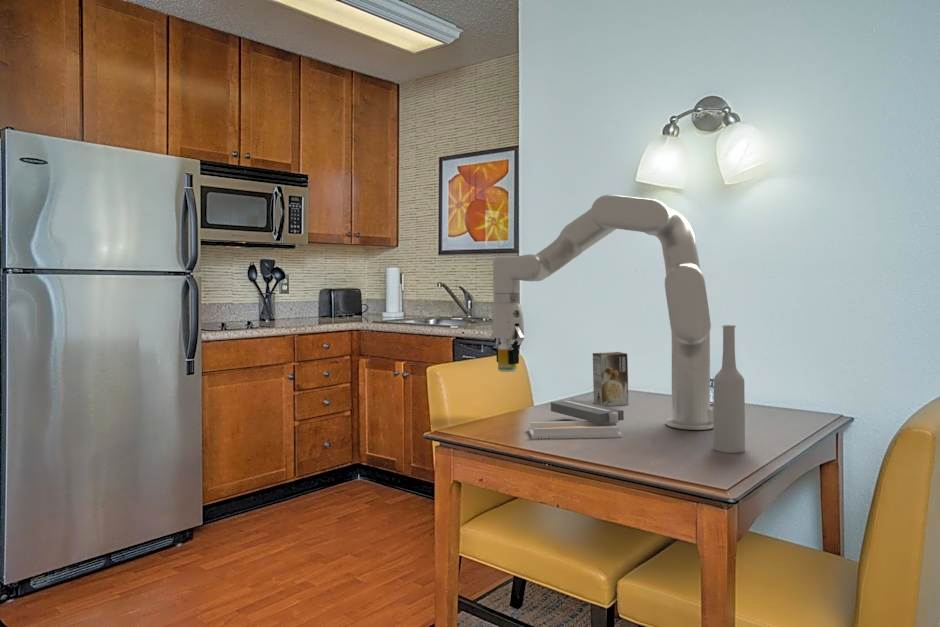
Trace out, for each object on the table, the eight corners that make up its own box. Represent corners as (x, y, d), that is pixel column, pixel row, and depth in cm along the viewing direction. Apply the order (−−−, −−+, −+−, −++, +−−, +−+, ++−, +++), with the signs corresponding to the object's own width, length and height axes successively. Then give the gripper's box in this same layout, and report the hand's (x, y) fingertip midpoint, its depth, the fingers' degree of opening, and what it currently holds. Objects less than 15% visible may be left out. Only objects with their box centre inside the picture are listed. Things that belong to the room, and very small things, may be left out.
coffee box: (619, 401, 208) (619, 351, 207) (629, 405, 201) (628, 353, 201) (592, 403, 205) (592, 352, 205) (601, 407, 199) (601, 354, 199)
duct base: (613, 429, 169) (613, 419, 169) (621, 437, 160) (621, 427, 160) (528, 430, 169) (528, 421, 169) (531, 439, 160) (531, 429, 160)
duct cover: (628, 421, 165) (628, 410, 165) (604, 424, 161) (604, 414, 161) (573, 407, 184) (573, 398, 184) (550, 411, 180) (550, 401, 180)
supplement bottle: (515, 372, 183) (515, 337, 183) (496, 372, 185) (496, 337, 184) (518, 369, 189) (517, 336, 188) (499, 369, 190) (499, 336, 189)
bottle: (732, 444, 151) (732, 324, 149) (751, 451, 144) (751, 325, 143) (707, 447, 149) (707, 325, 148) (725, 454, 143) (725, 326, 141)
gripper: (535, 299, 180) (535, 364, 181) (501, 298, 195) (502, 359, 196) (512, 300, 176) (513, 366, 177) (479, 299, 191) (480, 361, 192)
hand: (507, 362), depth 187 cm, fingers closed on supplement bottle, 5 cm apart
